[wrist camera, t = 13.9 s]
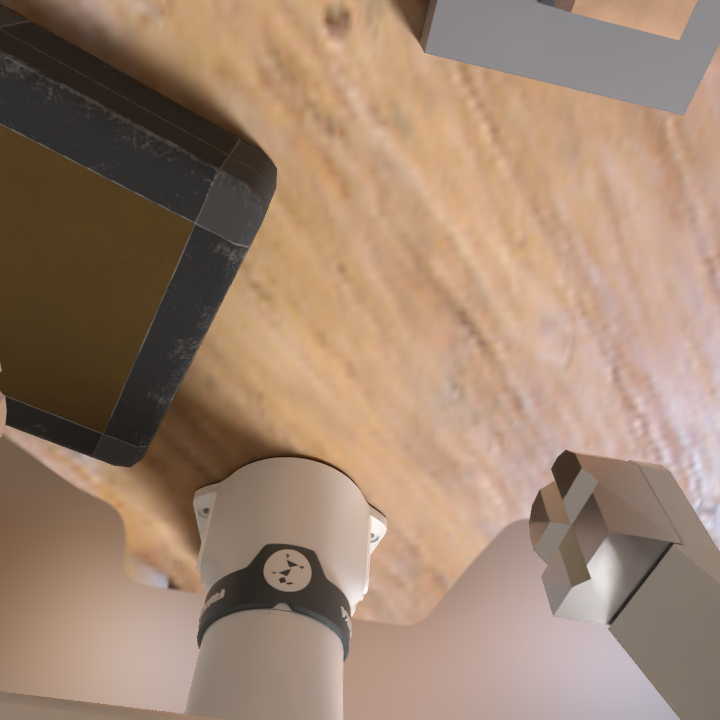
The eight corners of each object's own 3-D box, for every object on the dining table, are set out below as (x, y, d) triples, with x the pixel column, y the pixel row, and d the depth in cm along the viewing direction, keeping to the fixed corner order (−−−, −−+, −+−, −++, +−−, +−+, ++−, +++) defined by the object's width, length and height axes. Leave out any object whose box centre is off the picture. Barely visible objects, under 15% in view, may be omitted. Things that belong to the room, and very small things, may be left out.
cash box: (-34, -20, 34) (-128, -14, 27) (288, 162, 39) (272, 202, 33) (-88, 310, 46) (-161, 368, 40) (162, 413, 52) (133, 478, 45)
